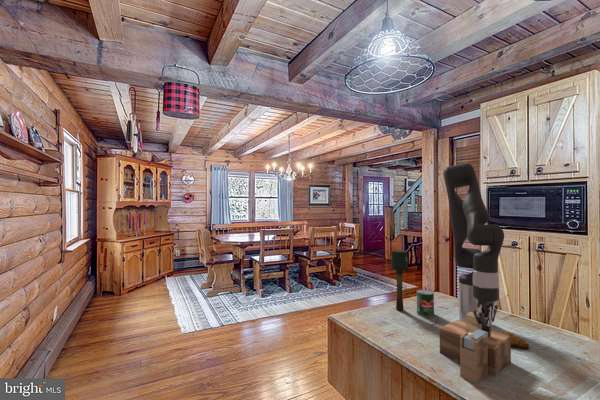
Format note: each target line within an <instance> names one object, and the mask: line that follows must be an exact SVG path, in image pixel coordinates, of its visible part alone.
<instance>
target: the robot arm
mask: <svg viewBox="0 0 600 400" xmlns="http://www.w3.org/2000/svg"><path fill="white" fill-rule="evenodd" d="M443 178H444V184H445V190H446V193H447V199H448V209H449V216H450V224H451V230H452V231H451V232H452V235H453V236H452V237H453V247H454V261H455V265H456V266H457V267H458V268H461V269H462V268H463V269H468V270H469V269H470V270H473V271H471V272H469V273H465V274H464V273H463V274H461V275H459V276H458V306H459V307H458V314H459V315H458V316H459V317H458V320H460V321H463V322H466V318H465V314H467V313H469V312H472V313H474V316H475V318H476V320H477V322H478V324H481V325H482V330H483V331H486V332H488V337H490V336H491V330H492V327H491V326H492V325H493V323H494V322H495V318H496V314H497V310H498V305H497V304H495V302H498V301H499V300H500V278H499V257H500V252H501V249H502V247H503V243H504V240H505V232H504V230H503V228H502V227H501V226H500V225H498V224H488V223H489V221H490V213H489V211H488V209H487V207H486V205H485V202H484V200H483V197H482V193H481V189H480V184H479V181H478V178H477V174H476V170H475V167H474V166H473V165H472V164H471V163H470V162H468V163H467V162H465V163H461V164H460V163H459V164H454V165H449V166H446V167H445V168H444V169H443ZM468 186H469V188H468V191H467V193H466V194H465V197H464V198H463V199H462V198H461V196H460V195H459V194H458V193H457V192H456V188H462V187H463V188H464V187H468ZM467 240H468V242H469V243H470V244H471V245H473V246H479V247H480V246H488V247H487V248H486V249H485V250H484V251H481V249H480V248H471V247H470V248H469V247H463V245H464V243H465V241H467Z"/></svg>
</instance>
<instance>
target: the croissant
mask: <svg viewBox="0 0 600 400" xmlns="http://www.w3.org/2000/svg"><path fill="white" fill-rule="evenodd" d="M499 333H502V334H506V335H509V336H510V339H511V347H514V348H518V349H525V350H526V349H527V350H528V349H530V345H529V343H528V342H527V341H525V340H524V339H523V338H520V337H518V336H517V335H515V334H514V333H512V332H511V331H510V332H509V331H500V332H499Z"/></svg>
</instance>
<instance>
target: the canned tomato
mask: <svg viewBox="0 0 600 400" xmlns="http://www.w3.org/2000/svg"><path fill="white" fill-rule="evenodd" d="M434 295H435V293H434V291H433V290H429V289H424V288H423V289H417V290H416V314H417V315H418V316H420V317H423V318H433V317H434V316H435V296H434Z"/></svg>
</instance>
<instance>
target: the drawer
mask: <svg viewBox="0 0 600 400" xmlns="http://www.w3.org/2000/svg"><path fill="white" fill-rule="evenodd" d="M484 335H488V332H486V331H483V330H480V329H478V330H476V331H474V332H472V333H468V335H467V336H465V337H464V347H466V348H468V349H471V350H474V341H476V340H478V339H479V338H481V337H483V336H484Z"/></svg>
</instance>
